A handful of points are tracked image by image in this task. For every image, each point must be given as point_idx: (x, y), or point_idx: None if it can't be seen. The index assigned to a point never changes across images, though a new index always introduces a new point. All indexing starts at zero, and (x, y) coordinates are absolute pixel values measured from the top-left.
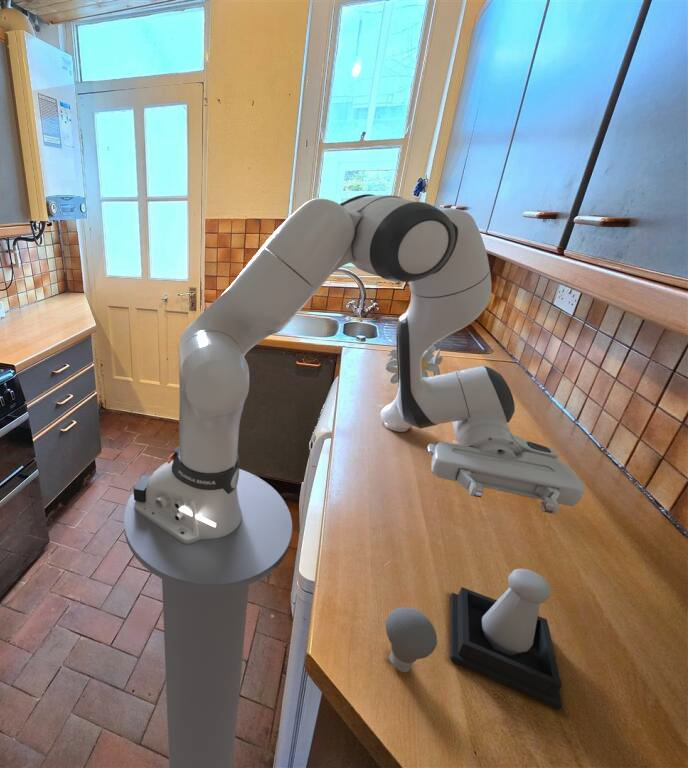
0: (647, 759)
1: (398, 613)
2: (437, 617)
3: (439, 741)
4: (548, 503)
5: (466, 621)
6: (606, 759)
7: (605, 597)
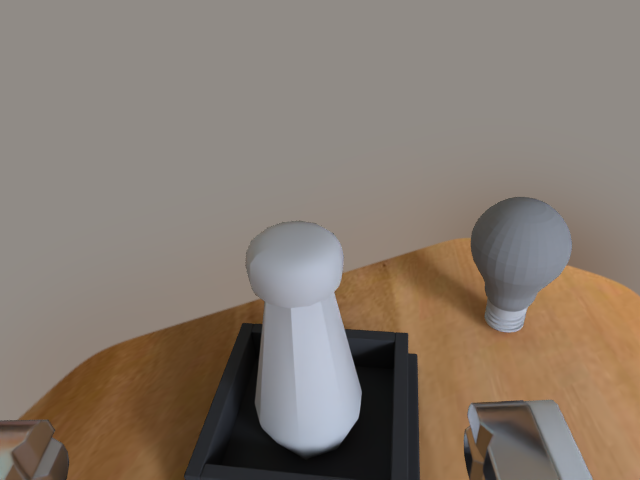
0: (145, 334)
1: (558, 214)
2: (449, 458)
3: (427, 260)
4: (30, 420)
5: (399, 383)
6: (209, 314)
7: None
